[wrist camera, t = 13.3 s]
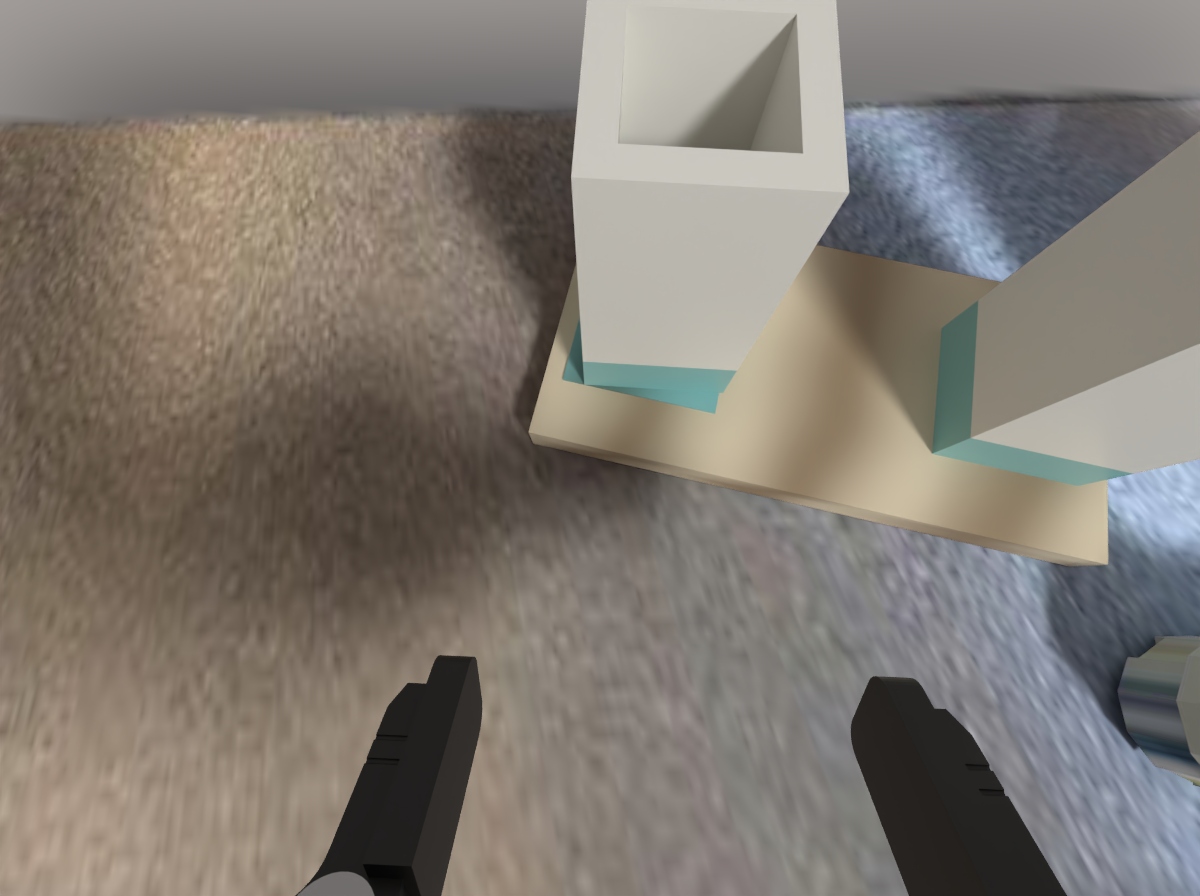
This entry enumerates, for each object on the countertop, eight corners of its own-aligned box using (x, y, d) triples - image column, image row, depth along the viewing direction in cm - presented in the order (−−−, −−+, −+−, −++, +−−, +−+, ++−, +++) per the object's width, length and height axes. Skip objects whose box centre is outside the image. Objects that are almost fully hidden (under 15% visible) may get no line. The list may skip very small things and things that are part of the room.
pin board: (533, 443, 20) (506, 380, 14) (594, 224, 23) (592, 91, 17) (1070, 566, 19) (1287, 555, 13) (1071, 322, 22) (1255, 217, 16)
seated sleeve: (932, 453, 19) (1285, 308, 9) (941, 328, 20) (1261, 83, 10) (1077, 486, 19) (1600, 370, 9) (1078, 356, 20) (1536, 131, 10)
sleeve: (584, 384, 19) (571, 177, 10) (593, 263, 21) (589, -27, 11) (722, 392, 19) (849, 192, 10) (723, 271, 21) (834, -14, 11)
